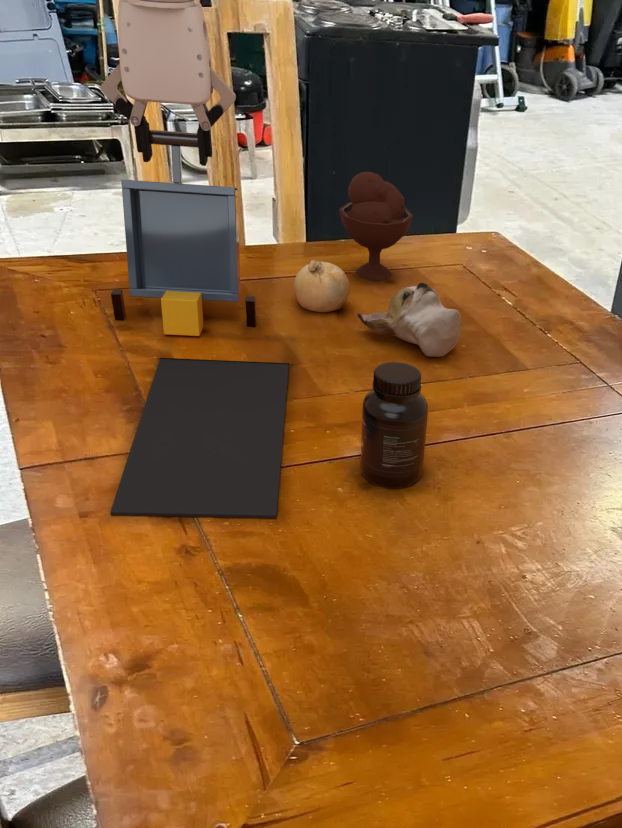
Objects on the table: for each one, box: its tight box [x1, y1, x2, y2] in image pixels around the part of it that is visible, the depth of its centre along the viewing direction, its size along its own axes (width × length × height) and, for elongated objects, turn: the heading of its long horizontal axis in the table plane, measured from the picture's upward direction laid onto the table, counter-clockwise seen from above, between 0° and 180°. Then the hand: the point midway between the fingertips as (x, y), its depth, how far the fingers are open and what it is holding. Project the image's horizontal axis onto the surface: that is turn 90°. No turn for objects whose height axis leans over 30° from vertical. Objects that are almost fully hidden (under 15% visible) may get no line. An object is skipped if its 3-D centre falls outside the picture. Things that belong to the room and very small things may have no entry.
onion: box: [293, 259, 351, 313], centre depth 126 cm, size 8×8×7 cm
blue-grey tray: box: [121, 129, 242, 303], centre depth 115 cm, size 20×14×5 cm
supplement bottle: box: [360, 361, 429, 489], centre depth 93 cm, size 7×7×12 cm
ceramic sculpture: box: [356, 282, 463, 358], centre depth 120 cm, size 11×9×15 cm
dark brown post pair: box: [110, 288, 258, 328], centre depth 119 cm, size 2×18×4 cm, turn 96°
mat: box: [109, 357, 290, 519], centre depth 103 cm, size 16×42×1 cm, turn 6°
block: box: [160, 291, 204, 337], centre depth 116 cm, size 4×4×4 cm
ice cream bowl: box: [339, 171, 414, 282], centre depth 135 cm, size 11×11×15 cm
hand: (176, 159), depth 110 cm, fingers closed on blue-grey tray, 6 cm apart
